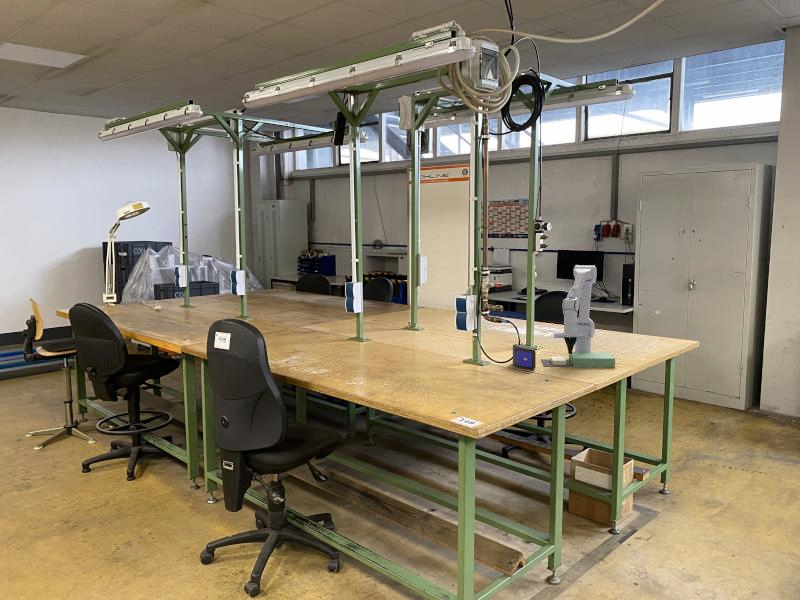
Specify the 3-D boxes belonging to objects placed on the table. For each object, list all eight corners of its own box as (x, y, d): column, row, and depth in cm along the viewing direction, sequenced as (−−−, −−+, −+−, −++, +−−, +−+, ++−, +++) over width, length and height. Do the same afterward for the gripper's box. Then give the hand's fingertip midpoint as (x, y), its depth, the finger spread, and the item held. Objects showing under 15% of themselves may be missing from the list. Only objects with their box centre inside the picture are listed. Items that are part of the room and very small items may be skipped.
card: (563, 356, 287) (563, 360, 287) (550, 356, 288) (550, 360, 288) (566, 360, 278) (566, 365, 278) (552, 360, 279) (552, 364, 279)
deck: (569, 360, 289) (569, 351, 289) (608, 360, 287) (608, 352, 286) (573, 366, 276) (573, 358, 275) (614, 367, 273) (615, 358, 273)
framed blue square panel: (507, 364, 284) (507, 344, 283) (515, 363, 286) (515, 343, 285) (527, 371, 269) (527, 350, 268) (536, 370, 271) (536, 349, 270)
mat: (541, 359, 291) (541, 359, 291) (569, 360, 289) (569, 359, 289) (543, 366, 277) (543, 365, 277) (573, 366, 276) (573, 366, 276)
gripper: (555, 325, 277) (554, 355, 279) (588, 325, 275) (587, 355, 277) (553, 323, 284) (553, 352, 286) (585, 323, 282) (585, 352, 284)
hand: (570, 353), depth 282 cm, fingers closed
